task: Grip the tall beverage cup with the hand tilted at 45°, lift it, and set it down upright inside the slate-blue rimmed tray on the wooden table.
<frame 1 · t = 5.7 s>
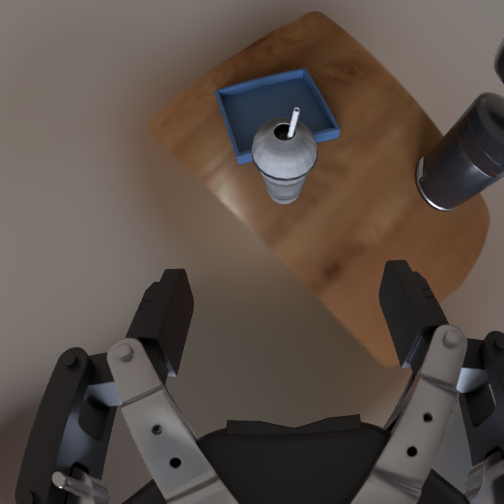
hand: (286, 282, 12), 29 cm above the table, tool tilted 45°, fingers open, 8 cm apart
tray: (275, 115, 44), on the table
beverage cup: (284, 189, 42), on the table
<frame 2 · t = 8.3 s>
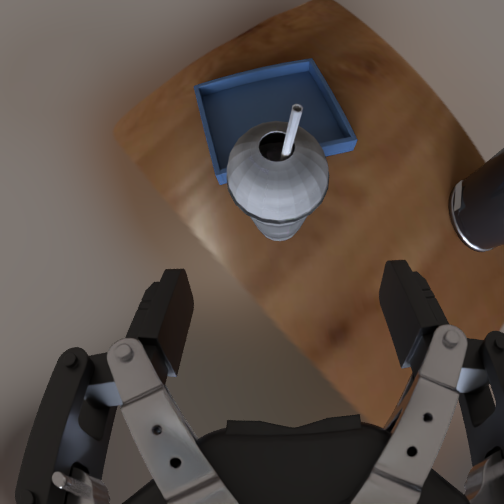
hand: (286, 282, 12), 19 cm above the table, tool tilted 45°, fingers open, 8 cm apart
tray: (270, 118, 34), on the table
beverage cup: (278, 220, 32), on the table
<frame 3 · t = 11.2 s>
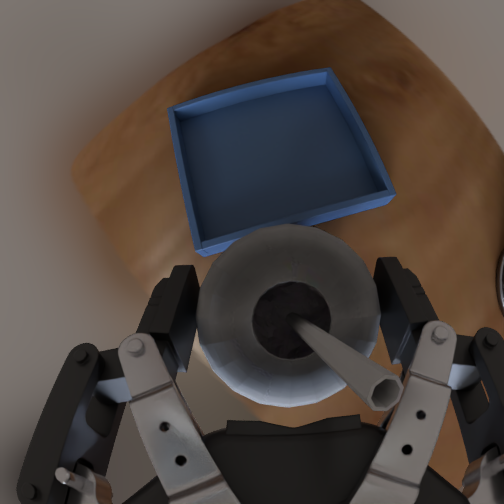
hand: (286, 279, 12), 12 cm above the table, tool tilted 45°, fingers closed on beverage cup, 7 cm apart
tray: (274, 155, 25), on the table
beverage cup: (284, 310, 23), on the table, touching gripper
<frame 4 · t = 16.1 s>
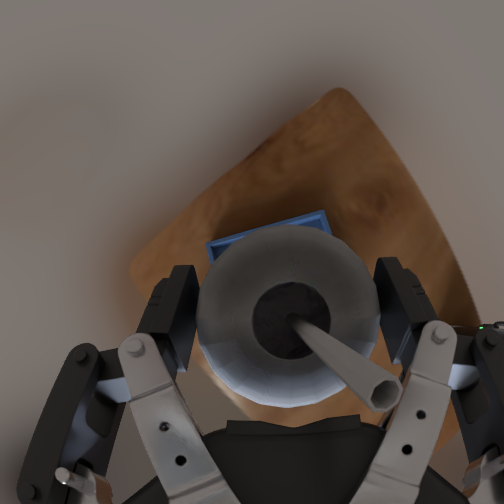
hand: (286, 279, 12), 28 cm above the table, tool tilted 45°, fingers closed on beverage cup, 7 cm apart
tray: (280, 280, 40), on the table
beverage cup: (284, 310, 23), point 16 cm above the table, touching gripper
when the fingers open (12 cm above the table, at t = 21.4 s): beverage cup stays where it is, resting on tray.
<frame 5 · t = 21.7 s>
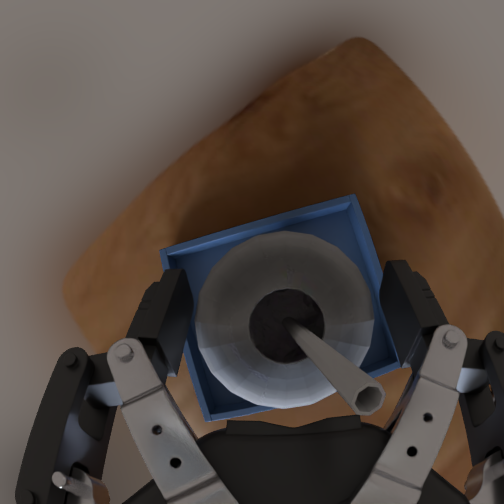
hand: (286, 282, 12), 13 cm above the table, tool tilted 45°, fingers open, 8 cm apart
tray: (282, 310, 24), on the table
beverage cup: (281, 312, 23), resting on tray
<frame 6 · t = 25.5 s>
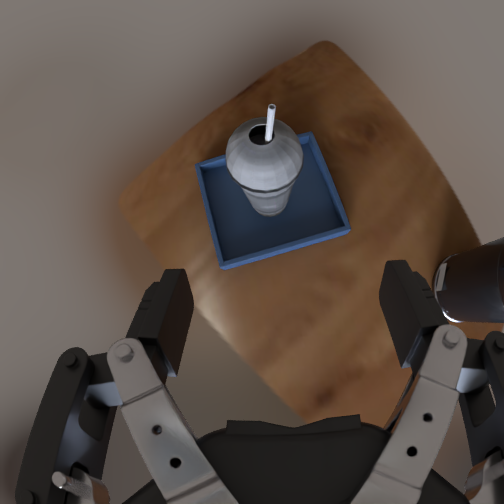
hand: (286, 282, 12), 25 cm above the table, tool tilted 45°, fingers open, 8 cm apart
tray: (270, 200, 38), on the table
beverage cup: (269, 200, 38), resting on tray
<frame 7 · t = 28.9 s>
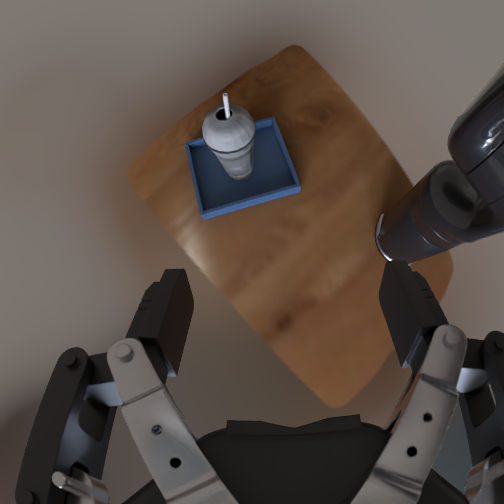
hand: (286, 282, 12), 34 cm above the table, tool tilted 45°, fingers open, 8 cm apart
tray: (241, 168, 49), on the table
beverage cup: (240, 168, 49), resting on tray
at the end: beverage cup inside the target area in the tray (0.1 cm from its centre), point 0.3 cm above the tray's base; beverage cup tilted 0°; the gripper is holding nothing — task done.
